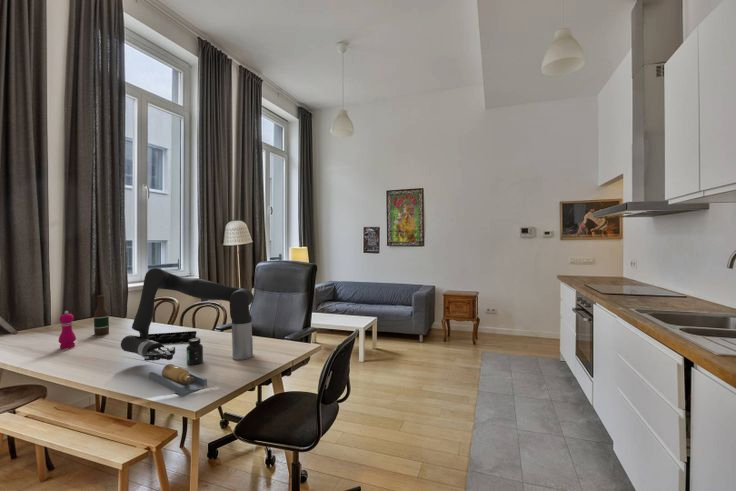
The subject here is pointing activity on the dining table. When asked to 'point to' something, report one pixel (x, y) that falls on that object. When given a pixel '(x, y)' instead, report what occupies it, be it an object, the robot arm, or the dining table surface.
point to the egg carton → (172, 337)
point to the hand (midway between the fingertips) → (170, 357)
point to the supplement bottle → (194, 352)
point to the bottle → (177, 374)
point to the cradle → (180, 388)
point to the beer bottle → (101, 318)
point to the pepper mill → (67, 331)
